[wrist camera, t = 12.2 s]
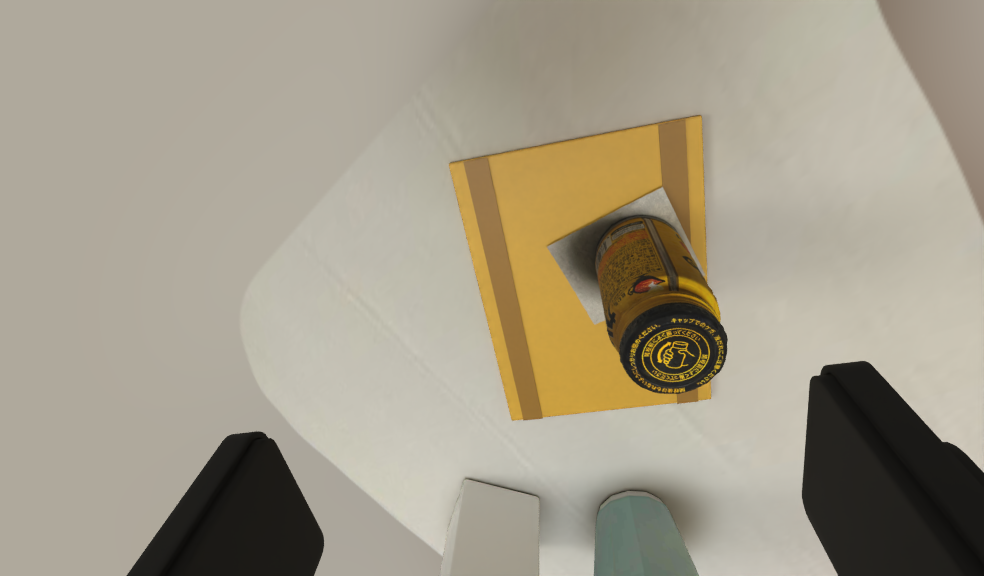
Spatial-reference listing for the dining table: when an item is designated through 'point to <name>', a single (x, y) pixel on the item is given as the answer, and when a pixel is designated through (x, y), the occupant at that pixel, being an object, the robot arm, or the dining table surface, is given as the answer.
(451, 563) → the milk carton
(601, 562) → the disposable coffee cup
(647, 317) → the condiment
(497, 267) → the towel
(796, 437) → the dining table surface
